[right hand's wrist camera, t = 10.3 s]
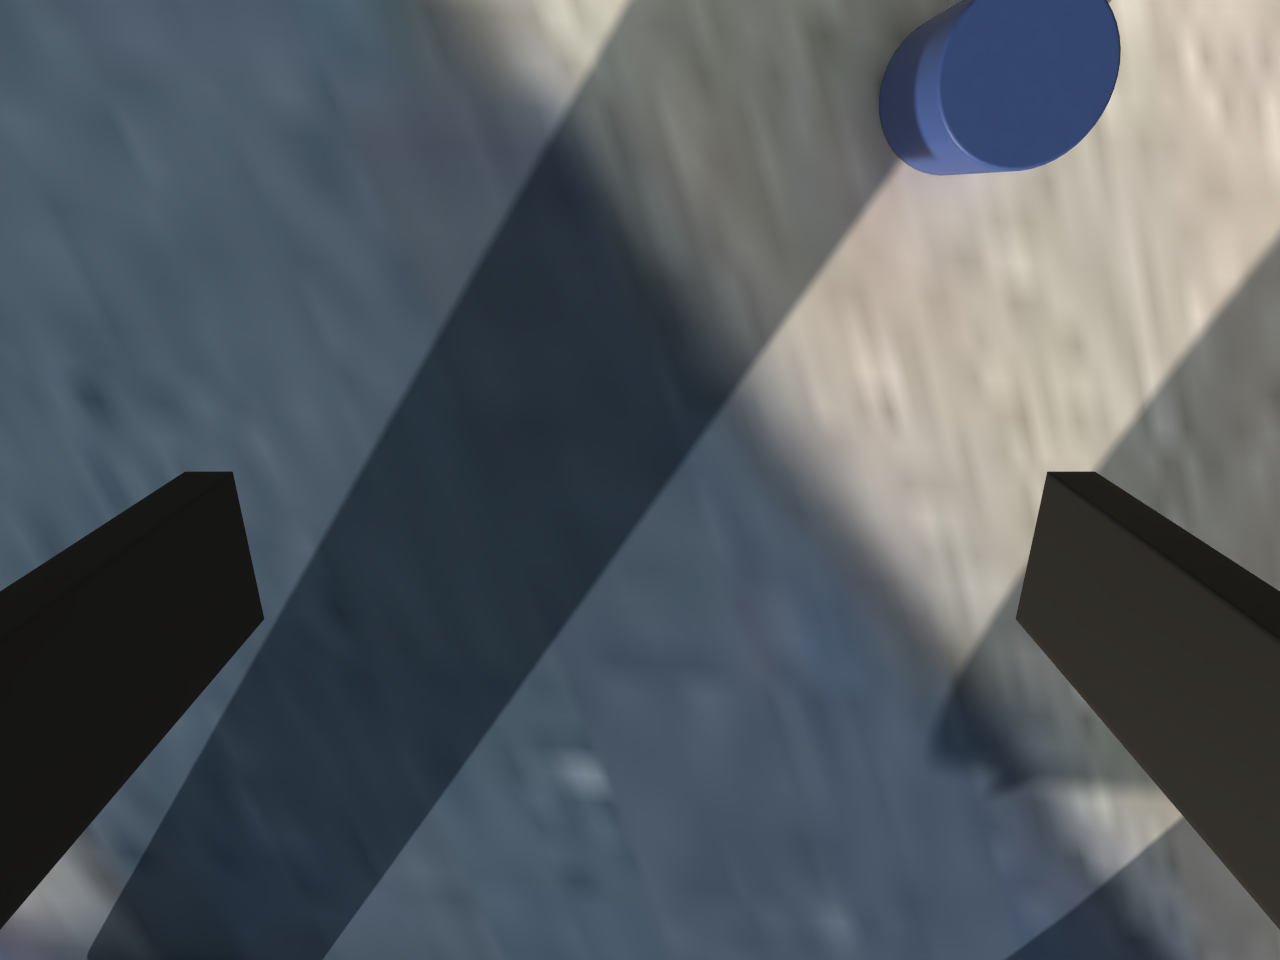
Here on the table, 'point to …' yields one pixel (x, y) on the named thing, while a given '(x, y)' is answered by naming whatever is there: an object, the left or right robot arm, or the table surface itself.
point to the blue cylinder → (999, 84)
